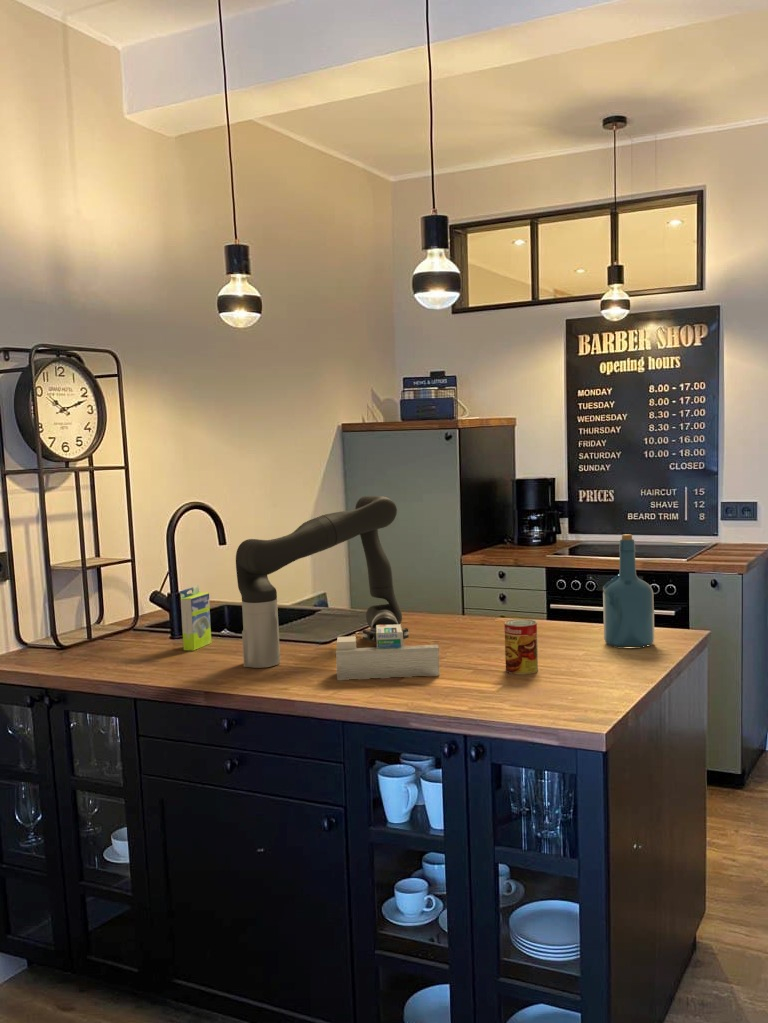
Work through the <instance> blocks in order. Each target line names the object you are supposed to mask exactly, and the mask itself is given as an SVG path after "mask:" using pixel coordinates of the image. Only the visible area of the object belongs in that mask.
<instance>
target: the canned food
mask: <svg viewBox="0 0 768 1023" xmlns="http://www.w3.org/2000/svg"><path fill="white" fill-rule="evenodd" d="M504 650H505V652H504V654H505V655H504V656H505V657H504V658H505V671H506V672H507V673H508V672H510V673H509V674H512V673H515V674H514V675H530V674H529V673H532V674H535V673H537V672H538V671H539V661H538V660H539V659H538V657H539V656H538V655H539V654H538V622H537V621H536V620H532V619H527V618H525V619H523V618H521V619H520V618H518V619H510V620H506V621H505V622H504ZM534 672H535V673H534Z"/></svg>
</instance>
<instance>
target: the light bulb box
mask: <svg viewBox="0 0 768 1023" xmlns="http://www.w3.org/2000/svg"><path fill="white" fill-rule="evenodd" d="M402 629H403V628H402V624H396V625H376V640H377V643H376V647H396V646H405V643H404V639H403V631H402Z"/></svg>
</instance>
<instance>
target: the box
mask: <svg viewBox="0 0 768 1023" xmlns="http://www.w3.org/2000/svg"><path fill="white" fill-rule="evenodd" d="M199 588H200V587H199V585H196V586H193V587H192V586H191V587H189V588H186V589H182V590H179V597H180V610H181V611H180V612H181V628H182V629H181V630H182V642H183V643H182V646H183V651H188V652H189V651H197V650H198V649H201V648H202V647H206V646H207V645H210V644H212V629H211V627H212V626H211V612H210V609H211V608H210V606H211V605H210V592H202V591H201V592H200V589H199ZM190 591H191V592H190ZM188 592H189V593H188Z"/></svg>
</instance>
